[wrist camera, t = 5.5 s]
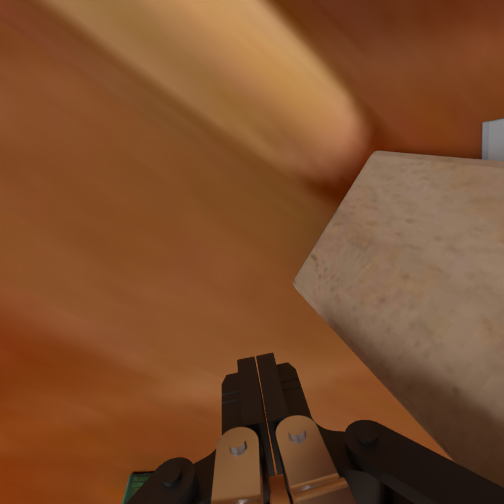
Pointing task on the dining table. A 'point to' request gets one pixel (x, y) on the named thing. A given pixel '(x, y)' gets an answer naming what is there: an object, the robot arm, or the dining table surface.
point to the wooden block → (423, 293)
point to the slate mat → (493, 140)
